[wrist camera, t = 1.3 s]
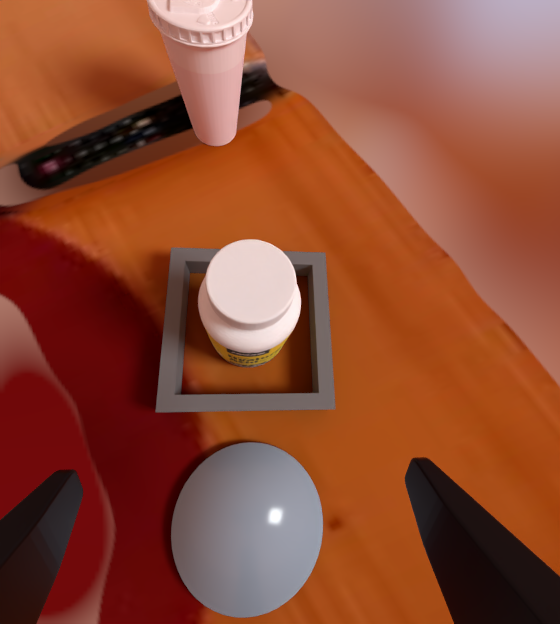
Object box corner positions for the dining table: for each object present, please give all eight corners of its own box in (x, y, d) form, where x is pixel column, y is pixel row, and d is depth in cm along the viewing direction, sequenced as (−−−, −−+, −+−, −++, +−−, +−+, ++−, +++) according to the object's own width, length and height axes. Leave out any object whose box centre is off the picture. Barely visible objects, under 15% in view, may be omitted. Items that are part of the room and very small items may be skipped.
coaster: (245, 652, 17) (245, 660, 17) (141, 524, 19) (138, 527, 18) (349, 517, 20) (352, 520, 19) (251, 411, 21) (252, 412, 21)
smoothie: (162, 127, 27) (83, -137, 14) (214, 90, 29) (188, -174, 16) (215, 171, 27) (184, -66, 13) (266, 130, 29) (282, -113, 15)
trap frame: (327, 409, 22) (335, 409, 20) (164, 412, 21) (155, 412, 19) (319, 264, 25) (325, 252, 23) (177, 260, 24) (171, 247, 22)
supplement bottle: (225, 380, 22) (209, 359, 12) (201, 310, 23) (169, 242, 14) (297, 352, 23) (332, 313, 13) (269, 287, 24) (284, 209, 15)
